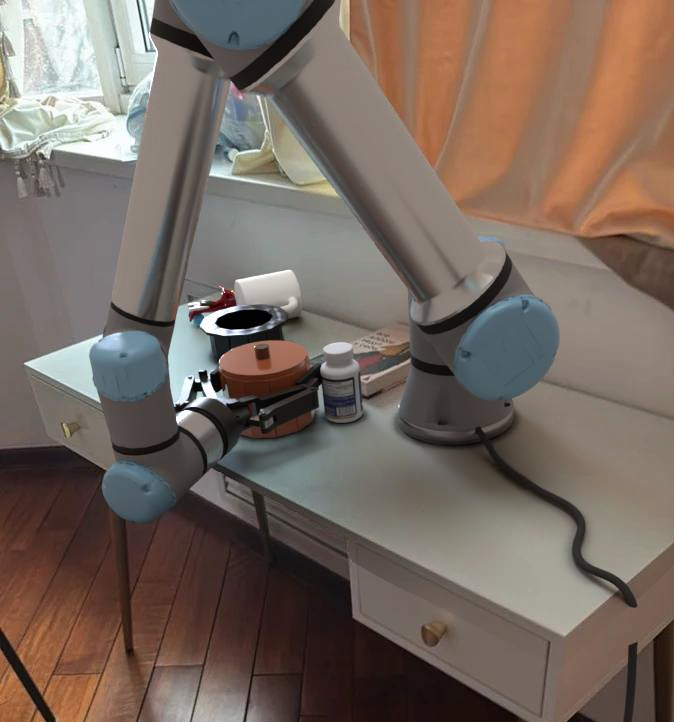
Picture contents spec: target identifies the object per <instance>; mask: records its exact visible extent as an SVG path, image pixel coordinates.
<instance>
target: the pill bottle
mask: <svg viewBox="0 0 674 722" xmlns="http://www.w3.org/2000/svg"><path fill="white" fill-rule="evenodd" d="M322 351H323V360H324V362H323V363H321V369H320V374H321V383H322V384H321V391H322V400H323V409H324V416H325V418H326V419H327V420H328V421H330V422H332V423H338V424H339V423H340V424H342V423H344V424H345V423H346V424H347V423H351V422H354V421H357V420H358V419H360V418H361V417H362V416H363V415H364V414H363V413H364V403H363V388H362V377H361V368H360V367H361V366H360V364H359V362H358V361H357V360H355V359H354V354H355V353H354V346H353V344H352V343H349V342H344V341H340V342H339V341H337V342H332V343H329V344H327V345H325V346H324V347H323V349H322Z"/></svg>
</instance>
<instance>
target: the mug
mask: <svg viewBox="0 0 674 722" xmlns="http://www.w3.org/2000/svg"><path fill="white" fill-rule="evenodd" d="M233 288H234V289H233V292H234V295H235V299H236V305H237V306H240V305H255V304H265V305H271V306H277V307H281V308H282V309H283V310H285V311H286V312H287V313H288V318H287V320H289V319H295V318H299V317H300V316H301V314H302V309H303V302H302V301H303V300H302V293H301V288H300V285H299V281H298V279H297V277H296V274H295V272H294V271H293V270H291V269H286V270H281V271H280V270H279V271H275V272H271V273H265V274H260V275H256V276H255V275H254V276H250V277H245V278H240V279H236V280H235V281H234V284H233Z"/></svg>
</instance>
